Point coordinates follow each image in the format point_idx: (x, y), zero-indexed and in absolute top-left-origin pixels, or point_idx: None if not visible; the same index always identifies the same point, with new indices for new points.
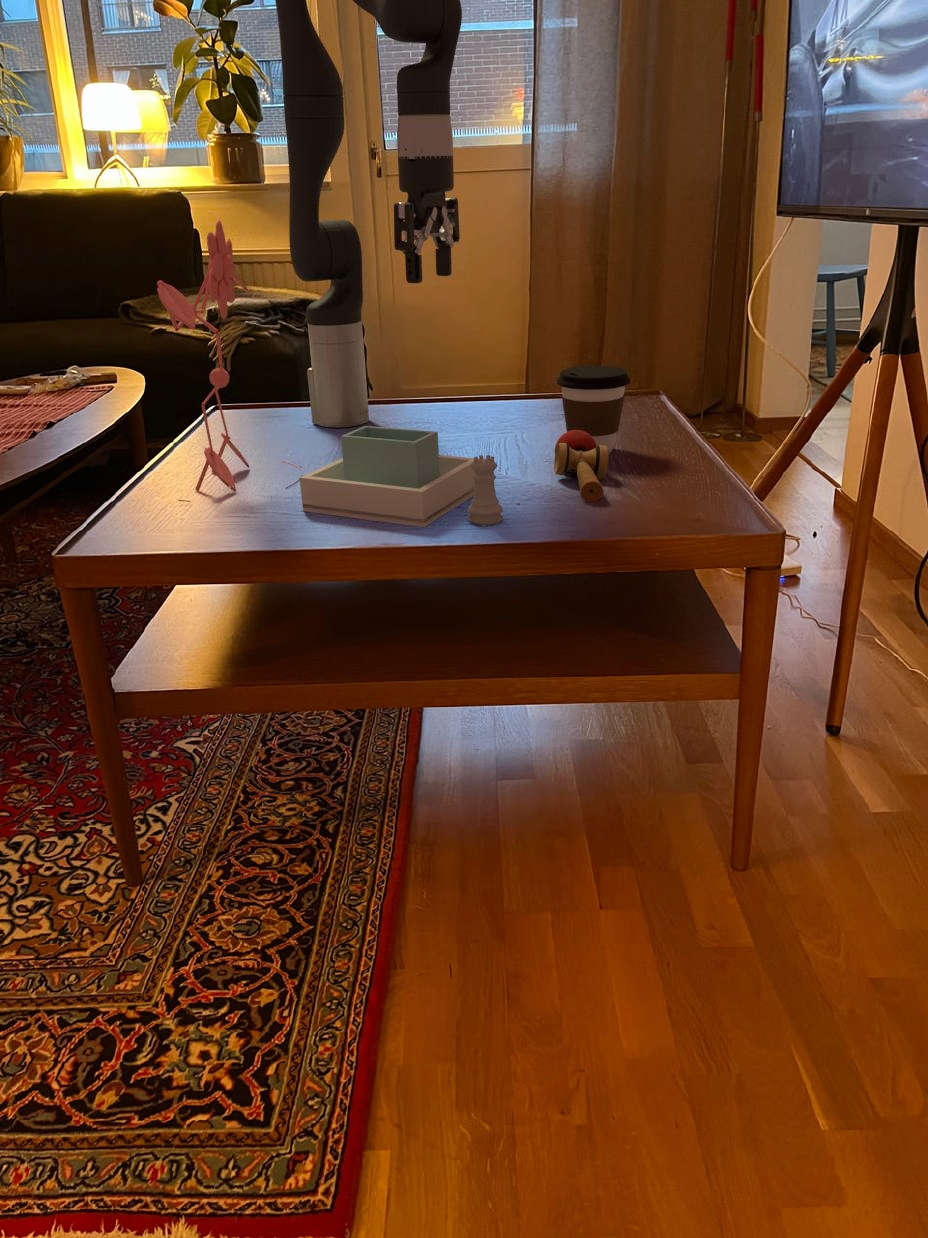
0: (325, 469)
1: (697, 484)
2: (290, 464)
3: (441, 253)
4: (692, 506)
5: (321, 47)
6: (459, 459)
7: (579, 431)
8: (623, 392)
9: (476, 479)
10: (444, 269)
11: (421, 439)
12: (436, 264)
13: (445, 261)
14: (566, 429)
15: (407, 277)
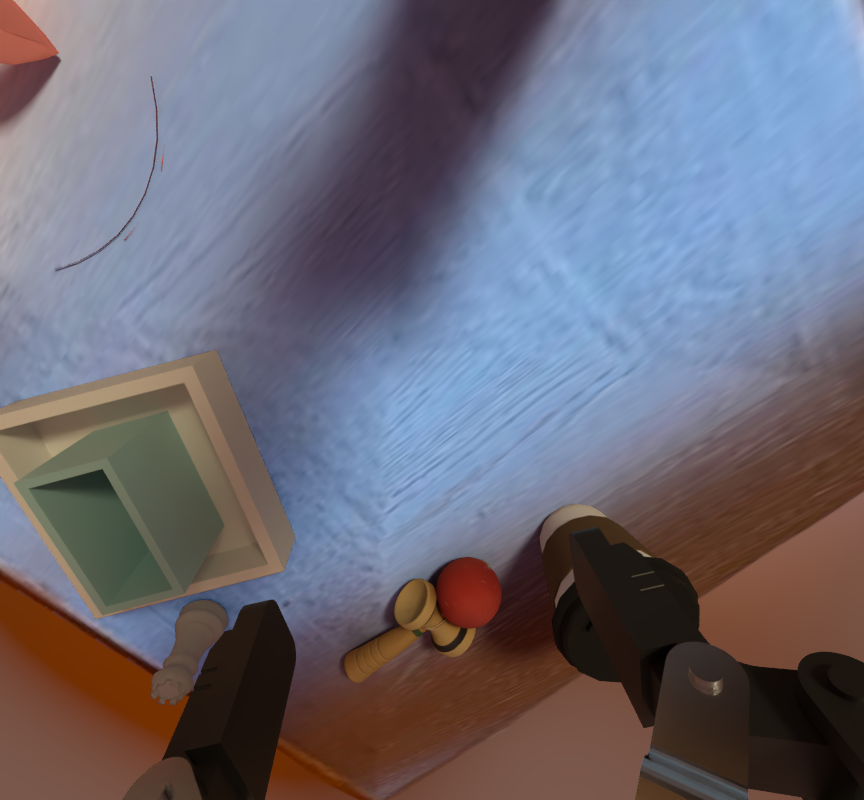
0: (36, 420)
1: (489, 697)
2: (156, 122)
3: (624, 658)
4: (409, 729)
5: None
6: (261, 548)
7: (473, 622)
8: None
9: (163, 667)
10: (586, 591)
11: (126, 607)
12: (593, 569)
13: (604, 635)
14: (557, 529)
15: (222, 642)
